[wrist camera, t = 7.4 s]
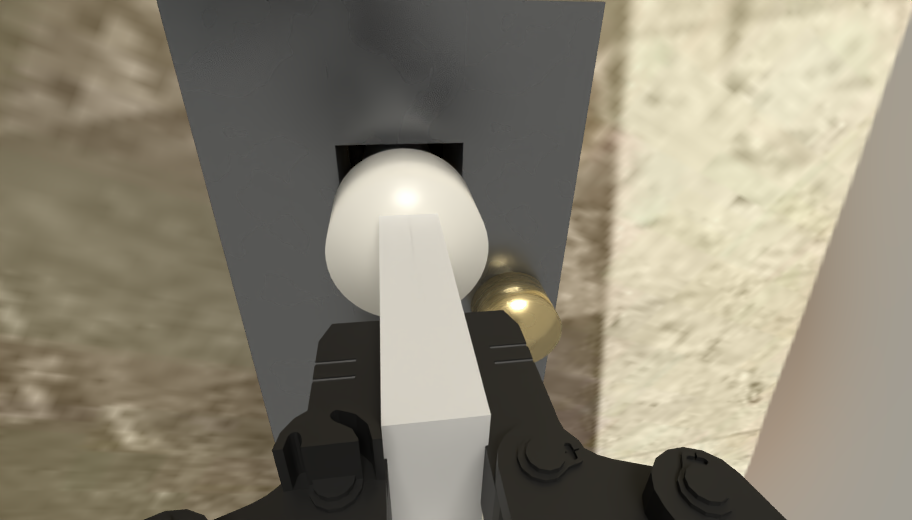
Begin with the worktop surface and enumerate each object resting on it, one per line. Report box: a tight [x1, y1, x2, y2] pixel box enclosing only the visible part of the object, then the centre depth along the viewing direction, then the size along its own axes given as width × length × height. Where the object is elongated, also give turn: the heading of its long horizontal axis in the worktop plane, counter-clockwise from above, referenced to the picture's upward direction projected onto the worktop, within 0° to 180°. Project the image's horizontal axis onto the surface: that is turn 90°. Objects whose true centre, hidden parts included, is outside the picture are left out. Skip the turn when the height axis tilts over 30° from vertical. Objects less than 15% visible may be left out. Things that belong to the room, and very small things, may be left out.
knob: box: [325, 143, 488, 316], centre depth 16 cm, size 4×4×8 cm
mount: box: [157, 0, 605, 443], centre depth 22 cm, size 30×12×5 cm, turn 179°
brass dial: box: [471, 272, 562, 362], centre depth 18 cm, size 3×3×2 cm
